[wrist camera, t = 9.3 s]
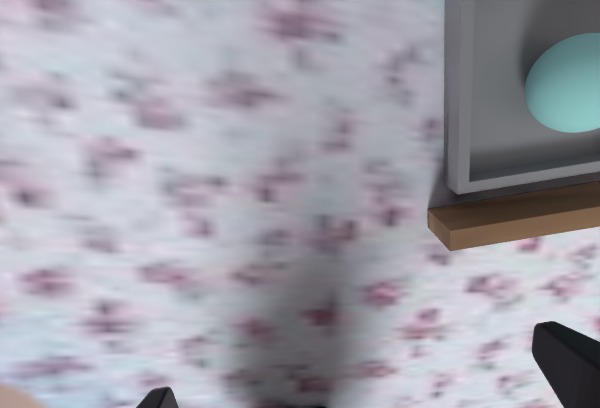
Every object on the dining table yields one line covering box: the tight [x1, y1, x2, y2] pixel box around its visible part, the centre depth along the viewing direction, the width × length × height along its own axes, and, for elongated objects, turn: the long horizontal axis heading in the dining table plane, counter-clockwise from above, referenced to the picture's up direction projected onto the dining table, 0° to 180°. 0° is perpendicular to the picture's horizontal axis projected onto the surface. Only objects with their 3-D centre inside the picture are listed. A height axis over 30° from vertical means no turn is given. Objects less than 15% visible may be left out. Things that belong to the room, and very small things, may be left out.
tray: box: [444, 0, 600, 194], centre depth 19 cm, size 10×10×2 cm
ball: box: [524, 33, 600, 133], centre depth 17 cm, size 4×4×4 cm
